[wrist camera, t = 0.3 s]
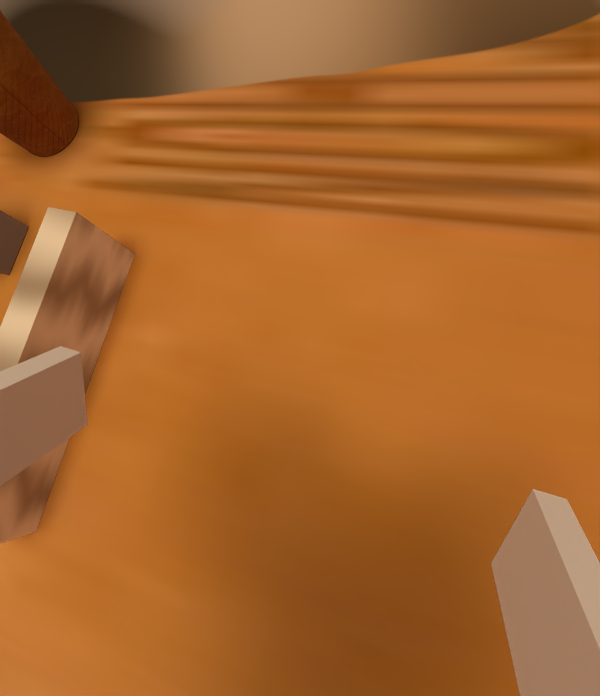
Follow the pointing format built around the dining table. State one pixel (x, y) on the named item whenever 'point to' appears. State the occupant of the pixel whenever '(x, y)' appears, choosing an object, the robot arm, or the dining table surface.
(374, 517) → the dining table surface
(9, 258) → the set of support blocks
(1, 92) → the disposable coffee cup
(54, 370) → the robot arm
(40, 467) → the ash rail plank
